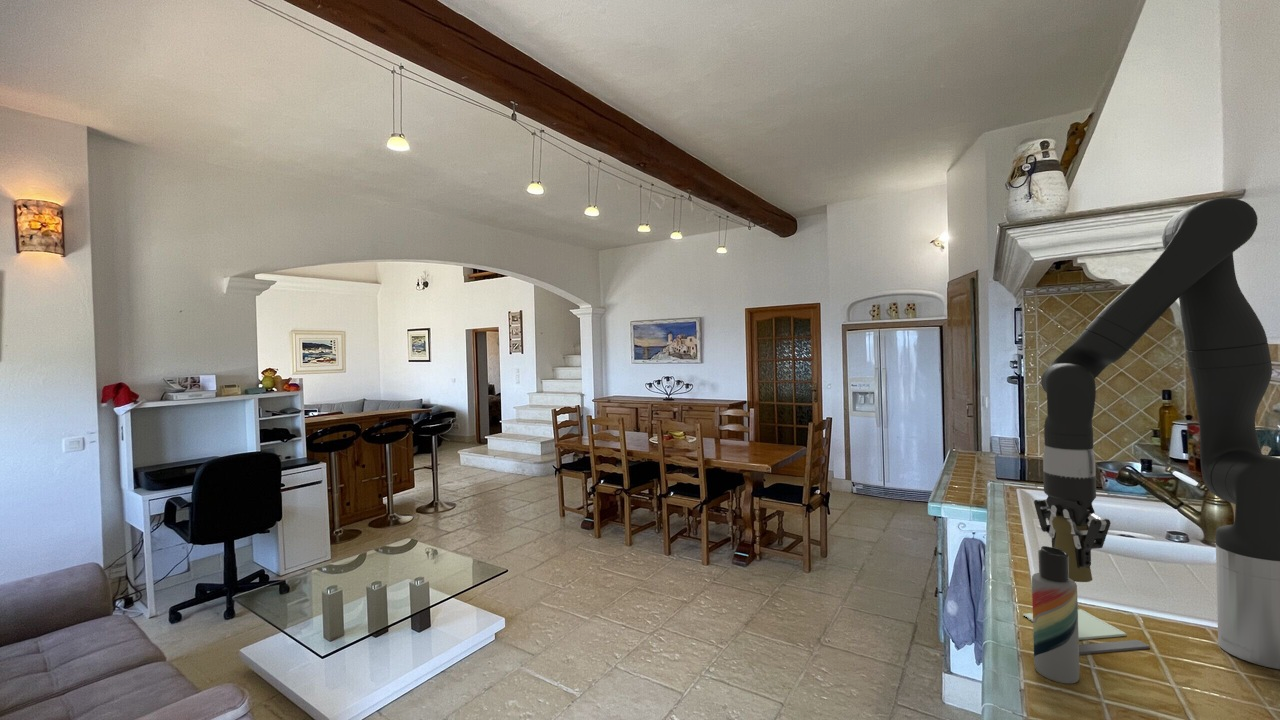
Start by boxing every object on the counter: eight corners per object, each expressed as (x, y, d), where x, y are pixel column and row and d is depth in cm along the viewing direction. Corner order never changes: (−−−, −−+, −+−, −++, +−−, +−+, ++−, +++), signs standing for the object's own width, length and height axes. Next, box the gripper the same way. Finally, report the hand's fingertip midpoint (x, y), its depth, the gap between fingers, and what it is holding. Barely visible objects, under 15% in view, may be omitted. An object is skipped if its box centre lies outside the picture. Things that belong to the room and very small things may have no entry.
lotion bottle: (1035, 658, 88) (1031, 540, 88) (1079, 670, 85) (1076, 547, 84) (1033, 675, 84) (1029, 551, 84) (1079, 689, 80) (1076, 558, 80)
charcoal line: (1138, 641, 92) (1138, 639, 92) (1149, 648, 90) (1149, 646, 90) (1051, 649, 91) (1051, 647, 91) (1061, 656, 89) (1061, 653, 89)
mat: (1080, 611, 103) (1080, 609, 103) (1126, 635, 94) (1126, 633, 94) (1022, 615, 102) (1022, 613, 102) (1063, 641, 93) (1063, 638, 93)
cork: (1100, 583, 94) (1099, 521, 94) (1062, 581, 95) (1060, 520, 95) (1079, 569, 100) (1078, 511, 100) (1043, 567, 101) (1042, 510, 101)
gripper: (1126, 479, 91) (1127, 578, 91) (1054, 462, 105) (1056, 547, 105) (1085, 481, 90) (1087, 581, 90) (1019, 463, 104) (1021, 550, 104)
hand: (1070, 562), depth 98 cm, fingers closed on cork, 4 cm apart
